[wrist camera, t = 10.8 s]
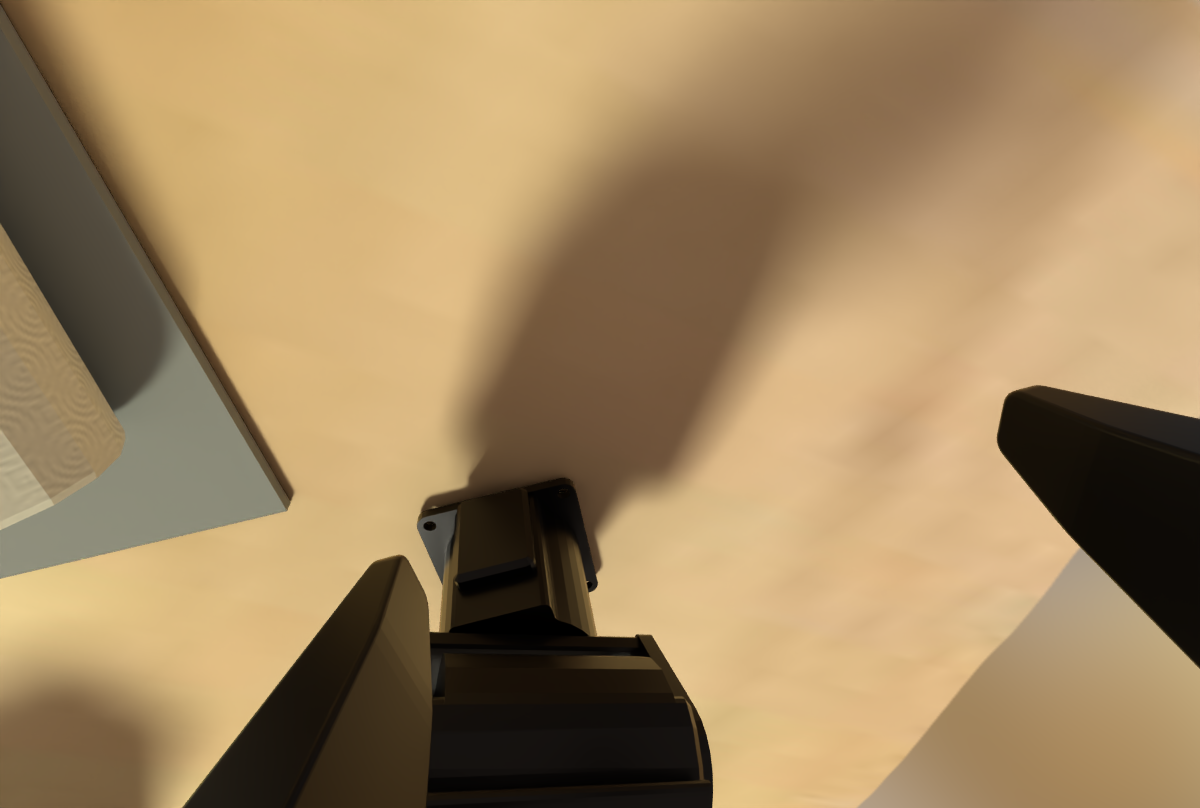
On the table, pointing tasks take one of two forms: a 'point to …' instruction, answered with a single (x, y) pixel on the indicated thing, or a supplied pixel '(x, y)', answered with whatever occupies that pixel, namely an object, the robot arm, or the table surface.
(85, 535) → the gray mat
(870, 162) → the table surface
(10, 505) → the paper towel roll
